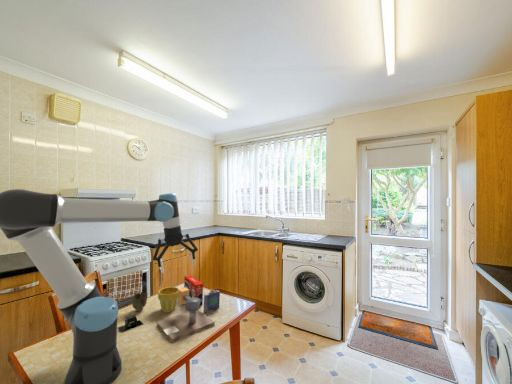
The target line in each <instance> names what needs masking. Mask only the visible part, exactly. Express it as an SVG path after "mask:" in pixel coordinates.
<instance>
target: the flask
mask: <svg viewBox="0 0 512 384" xmlns="http://www.w3.org/2000/svg"><path fill="white" fill-rule="evenodd" d="M220 293H221V291H220V290H218V289H216V290H214V289H213V288H210V291H209V292H206V293H203V294H204V295H203V312H204V314H206V313H209V312H213V311H214V310H215V311H216V310H218V309H220V296H221V295H220Z"/></svg>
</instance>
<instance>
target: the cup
mask: <svg viewBox="0 0 512 384" xmlns="http://www.w3.org/2000/svg"><path fill="white" fill-rule="evenodd" d="M148 295H149V294H148V293H146V292H137V293H134V295H131V304H132V305H131V306H132V308H133V309H134V311H135V312H136V313H140V312H142V311H143V310H144V307H146V305H147V300H148Z"/></svg>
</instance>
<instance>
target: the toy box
mask: <svg viewBox="0 0 512 384" xmlns="http://www.w3.org/2000/svg"><path fill="white" fill-rule="evenodd" d="M183 280H184V282H183V285H184V286H183V288H185V287H186V288H187V289H189V297H191V298H199V299H200V305H201V306H204V295H203V294H204V283H203V282H202V281H200V280H199V279H197V278H195V276H192V275H191V274H188V275H185V276H184V279H183Z"/></svg>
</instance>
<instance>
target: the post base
mask: <svg viewBox="0 0 512 384" xmlns="http://www.w3.org/2000/svg"><path fill="white" fill-rule="evenodd" d="M215 324H216V322H215V321H214V320H213V319H212V318H210V317H209V316H207V315H206V313H203V312H202V311H201V310H200V309H198V310H196V311H186V312H183V313H181V314H177V315H174V316H172V317H168V318H165V319H162V320H160V321H157V322H156V326H157V327H158V328H159V330H161V332H162V334H164V335H165V336H166V338H167V339H168V340H169V341H170V342H171V343H176V342H177V341H180V340H182V339H184V338H185V339H186V338H188V337H189V336H192V335H194V334H196V333H199V332H202V331H204V330H206V329H209V328H211V327H213V326H215Z"/></svg>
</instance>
